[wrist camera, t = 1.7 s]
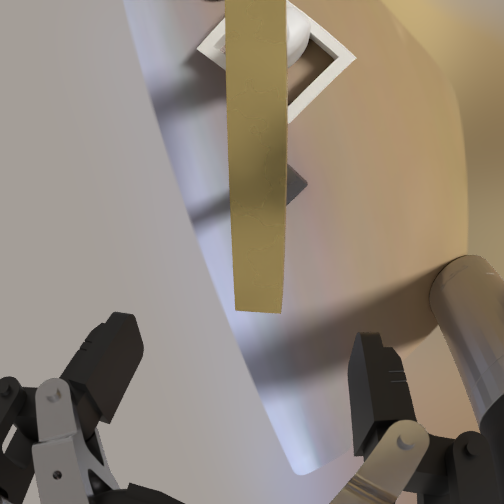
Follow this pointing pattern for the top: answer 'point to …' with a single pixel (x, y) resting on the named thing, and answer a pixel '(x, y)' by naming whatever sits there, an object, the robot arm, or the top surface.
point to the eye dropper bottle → (296, 35)
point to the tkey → (257, 149)
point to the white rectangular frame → (317, 34)
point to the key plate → (294, 184)
